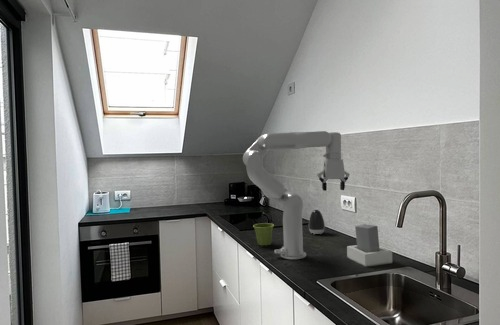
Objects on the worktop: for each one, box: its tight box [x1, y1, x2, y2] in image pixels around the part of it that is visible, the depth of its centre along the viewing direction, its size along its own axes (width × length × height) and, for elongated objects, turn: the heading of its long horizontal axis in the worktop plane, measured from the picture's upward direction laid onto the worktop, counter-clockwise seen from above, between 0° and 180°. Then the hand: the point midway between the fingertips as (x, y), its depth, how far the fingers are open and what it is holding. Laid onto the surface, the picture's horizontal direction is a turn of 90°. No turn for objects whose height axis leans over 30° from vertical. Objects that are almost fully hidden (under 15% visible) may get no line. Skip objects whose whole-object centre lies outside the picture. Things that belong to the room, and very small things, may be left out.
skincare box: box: [355, 223, 380, 253], centre depth 164 cm, size 8×7×16 cm
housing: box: [346, 244, 393, 268], centre depth 164 cm, size 14×15×6 cm
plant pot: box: [252, 222, 275, 246], centre depth 198 cm, size 12×12×11 cm
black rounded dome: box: [308, 209, 326, 235], centre depth 221 cm, size 10×10×15 cm
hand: (333, 190), depth 179 cm, fingers open, 9 cm apart
